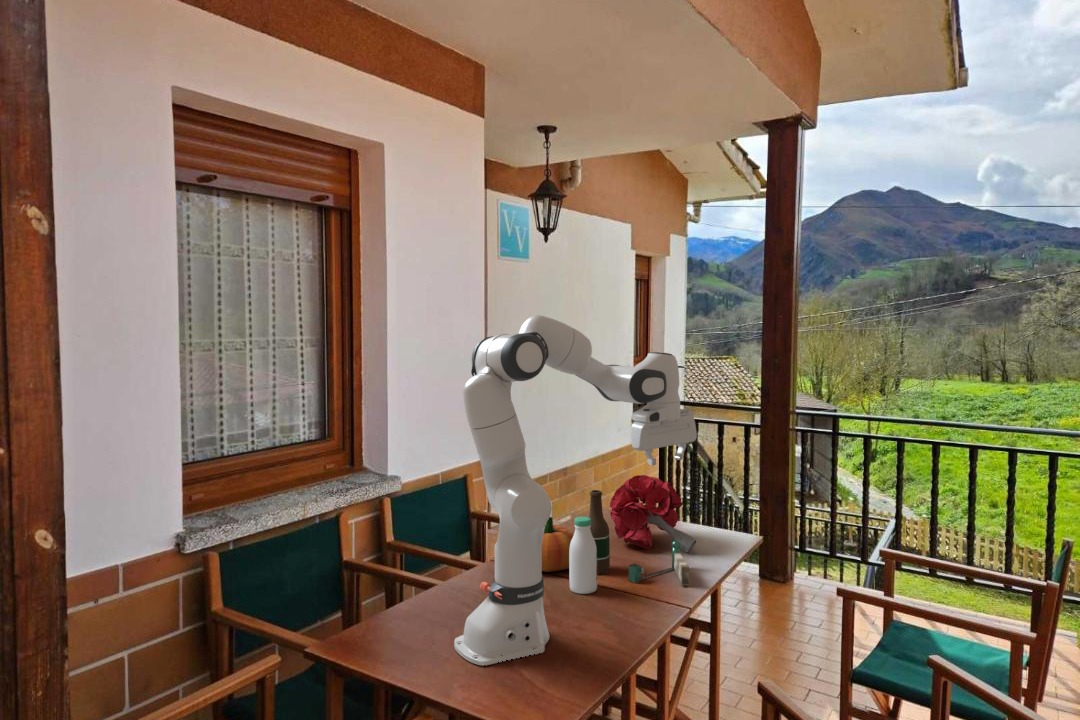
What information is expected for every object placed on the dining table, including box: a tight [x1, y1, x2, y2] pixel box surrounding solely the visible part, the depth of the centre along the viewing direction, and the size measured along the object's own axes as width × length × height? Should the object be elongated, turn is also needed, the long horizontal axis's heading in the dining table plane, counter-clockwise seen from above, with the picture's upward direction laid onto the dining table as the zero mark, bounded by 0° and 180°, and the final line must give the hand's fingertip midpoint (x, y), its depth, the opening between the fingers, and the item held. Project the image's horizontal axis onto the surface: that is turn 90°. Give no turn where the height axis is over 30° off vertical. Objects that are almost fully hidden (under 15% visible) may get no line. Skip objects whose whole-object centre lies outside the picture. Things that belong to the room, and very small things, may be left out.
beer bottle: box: [588, 489, 611, 575], centre depth 201 cm, size 8×8×24 cm
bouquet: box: [609, 474, 697, 554], centre depth 222 cm, size 22×24×30 cm
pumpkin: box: [541, 516, 574, 573], centre depth 206 cm, size 19×19×15 cm
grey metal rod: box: [641, 567, 675, 580], centre depth 198 cm, size 14×1×1 cm, turn 124°
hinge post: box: [671, 540, 681, 569], centre depth 202 cm, size 3×3×9 cm
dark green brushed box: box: [628, 563, 645, 584], centre depth 193 cm, size 3×3×4 cm
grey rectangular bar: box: [674, 552, 690, 586], centre depth 194 cm, size 12×2×5 cm, turn 179°
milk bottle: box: [568, 516, 598, 595], centre depth 187 cm, size 8×8×20 cm
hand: (665, 462), depth 183 cm, fingers open, 8 cm apart
